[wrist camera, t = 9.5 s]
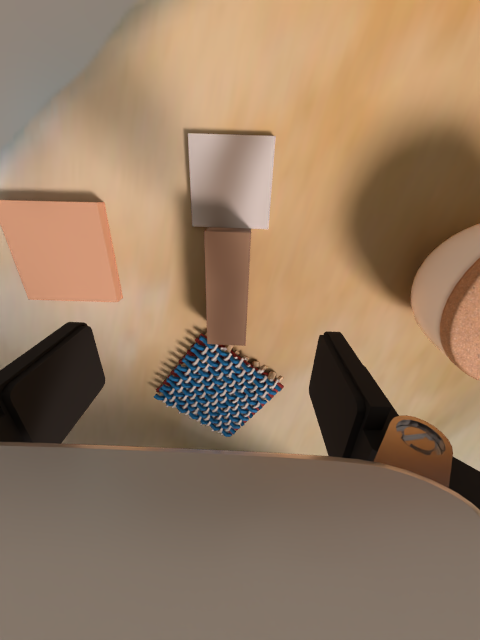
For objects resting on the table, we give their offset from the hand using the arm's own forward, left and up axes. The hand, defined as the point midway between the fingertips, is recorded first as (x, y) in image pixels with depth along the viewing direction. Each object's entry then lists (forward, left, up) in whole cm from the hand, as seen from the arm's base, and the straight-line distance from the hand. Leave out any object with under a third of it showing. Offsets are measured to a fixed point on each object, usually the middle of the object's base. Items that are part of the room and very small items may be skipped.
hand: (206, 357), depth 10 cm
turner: (0, -2, -13) cm, 13 cm away
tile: (+14, +3, -12) cm, 19 cm away
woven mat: (+1, +12, -13) cm, 18 cm away
